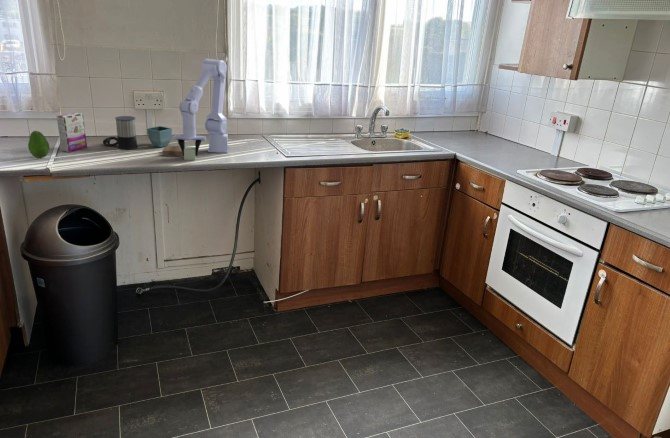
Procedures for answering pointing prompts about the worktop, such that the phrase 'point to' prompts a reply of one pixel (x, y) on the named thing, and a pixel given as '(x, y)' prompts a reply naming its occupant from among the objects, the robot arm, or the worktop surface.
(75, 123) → the candy bar box
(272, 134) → the worktop surface
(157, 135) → the flower pot
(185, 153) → the cube
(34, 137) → the avocado
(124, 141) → the milk frother
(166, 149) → the base slab
